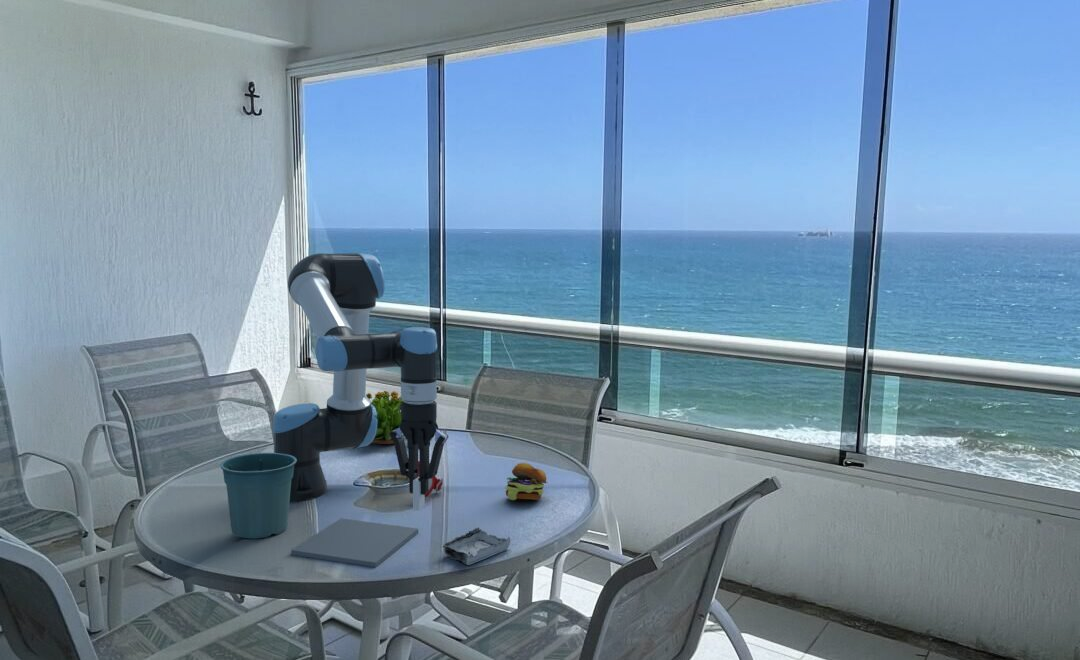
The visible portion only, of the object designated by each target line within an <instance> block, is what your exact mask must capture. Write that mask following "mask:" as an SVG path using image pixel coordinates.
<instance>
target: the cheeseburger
mask: <svg viewBox="0 0 1080 660" xmlns="http://www.w3.org/2000/svg"><path fill="white" fill-rule="evenodd" d="M511 474H512V475H513V476H514V477H507V478H506V480H508V481H507V482H506V484H507V485H506V486H505V488H504V489H506V490H505V495H506V497H507V498H508V499H509V500H511V501H516V500H535V501H536V500H537V501H538V500H541V497H542V495H543V493H544V488H545V485H544V484H548V481H547V475H546V472H545V471H544V470H543V469H541V468H535V467H534V466H532V465H531V464H530V463H527V462H520V463H517V464H516V465H515V466H514V467H513V468H512V471H511Z"/></svg>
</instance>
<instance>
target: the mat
mask: <svg viewBox="0 0 1080 660" xmlns="http://www.w3.org/2000/svg"><path fill="white" fill-rule="evenodd" d="M417 534H419V528H418V527H417V528H416V527H408V526H400V525H394V524H385V523H381V522H380V523H379V522H371V521H364V520H357V519H348V518H342V517H341V518H339V519H337V520H336V521H335V522H333V523H331V524H330V525H328V526H327V527H325V528H324V529H322V530H321V531H319V532H317V533H316V534H314V535H313V536H311V537H310V538H308V539H306V540H305V541H303V542H301V543H300V544H299V545H296V546H295V547H293V548H292V549H290V554H291V555H292V556H299V557H307V558H311V559H318V560H326V561H333V562H338V563H345V564H351V565H358V566H363V567H365V566H366V567H373V568H377V567H378V566H379V565H381V564H382V563H383V562H384V561H385V560H387V559H388V558H389V557H391V556H392V555H393V554H394V553H396V551H398V550H400V548H402V546H404V545H406V543H408V542H409V541H410V540H411V539H413V538H414V537H415V536H417ZM291 555H290V556H291Z"/></svg>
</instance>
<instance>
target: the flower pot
mask: <svg viewBox="0 0 1080 660" xmlns="http://www.w3.org/2000/svg"><path fill="white" fill-rule="evenodd" d="M296 461H297V459H296V458H295V457H294V456H291V455H287V454H280V453H274V452H256V453H254V452H253V453H247V454H246V453H245V454H241V455H236V456H231V457H229V458H227V459H224V460H223V461H221V462H220V464H219V466H220V468H221V470H222V473H223V480H224V484H225V485H226V492H227V493H226V494H227V503H228V510H229V519H230V527H231V529H230V530H231V533H232V535H236V536H237V537H238V538H242V539H243V538H244V539H254V540H255V539H262V538H269V537H270V536H271V535H273V534H274V535H280V534H281V533H283V532H285V531H286V529H287V528H288V523H289V512H290V503H291V501H290V490H291V479H292V478H293V472H294V465H295V464H296Z"/></svg>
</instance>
